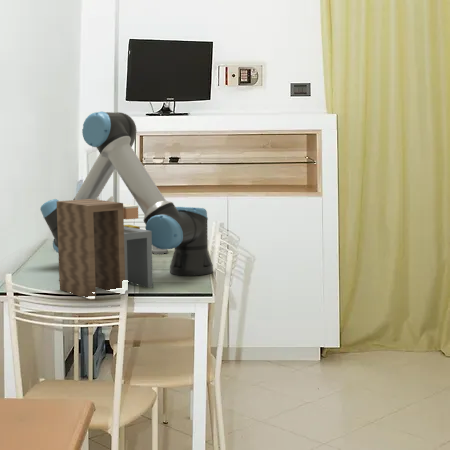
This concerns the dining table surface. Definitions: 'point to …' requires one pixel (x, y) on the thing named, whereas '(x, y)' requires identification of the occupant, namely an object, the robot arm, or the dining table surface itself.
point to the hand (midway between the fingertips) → (105, 200)
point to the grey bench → (138, 256)
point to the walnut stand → (90, 245)
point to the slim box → (130, 211)
